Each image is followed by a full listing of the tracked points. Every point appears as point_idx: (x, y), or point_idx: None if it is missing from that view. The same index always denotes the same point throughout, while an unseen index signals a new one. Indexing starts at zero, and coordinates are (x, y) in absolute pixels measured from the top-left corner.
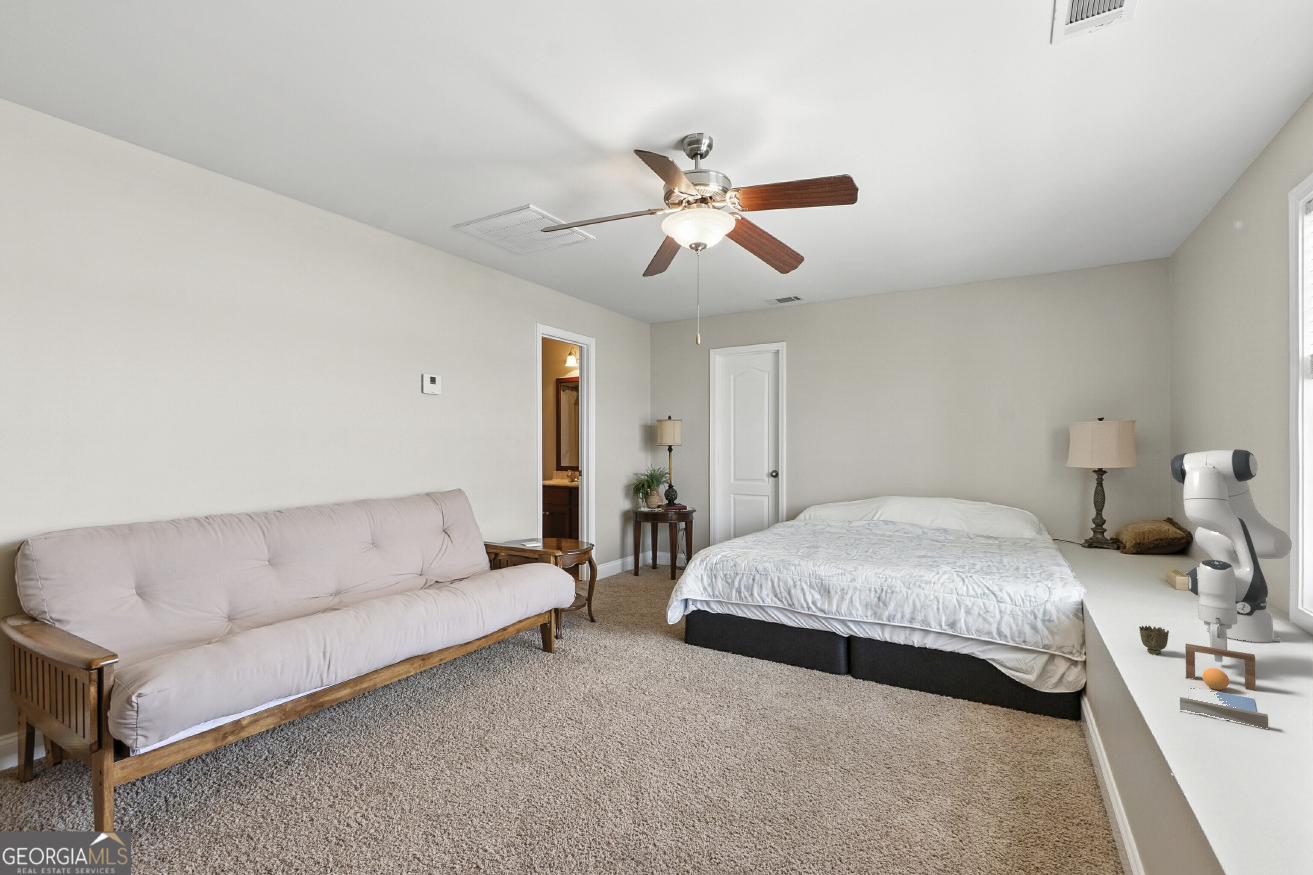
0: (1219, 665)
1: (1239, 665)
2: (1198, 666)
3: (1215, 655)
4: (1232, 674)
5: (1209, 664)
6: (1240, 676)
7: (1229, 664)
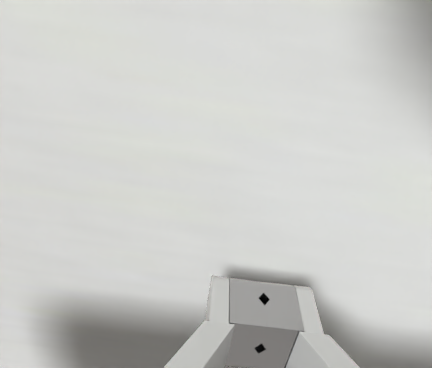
0: (277, 265)
1: None
2: (133, 114)
3: (200, 327)
4: (72, 294)
5: (269, 209)
6: (60, 321)
7: (342, 318)
